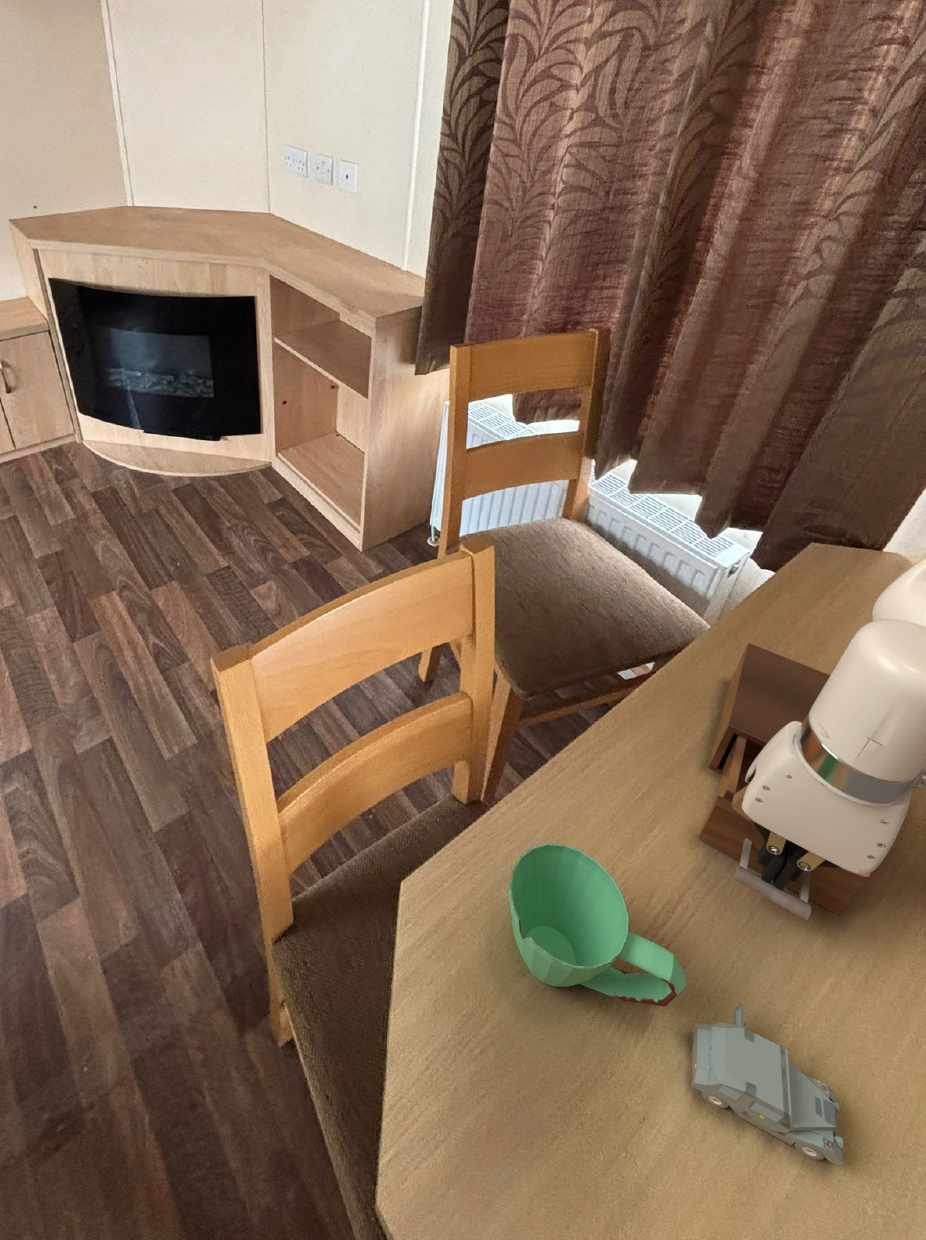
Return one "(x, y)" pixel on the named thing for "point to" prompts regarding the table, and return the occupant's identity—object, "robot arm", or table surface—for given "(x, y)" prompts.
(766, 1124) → the toy car
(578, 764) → the table surface
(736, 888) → the table surface
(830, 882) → the drawer
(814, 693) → the cabinet
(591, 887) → the mug
